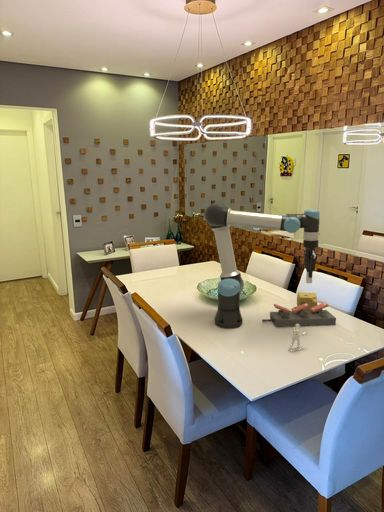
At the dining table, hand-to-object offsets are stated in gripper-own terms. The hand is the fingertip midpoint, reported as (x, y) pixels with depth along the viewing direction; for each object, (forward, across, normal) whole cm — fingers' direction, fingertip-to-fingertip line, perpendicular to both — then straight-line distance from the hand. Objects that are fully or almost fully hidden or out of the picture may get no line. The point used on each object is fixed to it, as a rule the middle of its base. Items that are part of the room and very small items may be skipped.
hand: (309, 282), depth 189 cm
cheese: (+22, +14, -5) cm, 26 cm away
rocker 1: (+15, +1, +14) cm, 21 cm away
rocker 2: (+15, +1, +4) cm, 15 cm away
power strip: (+21, -2, +7) cm, 23 cm away
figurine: (+22, -32, +17) cm, 42 cm away
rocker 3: (+15, +1, -7) cm, 17 cm away
